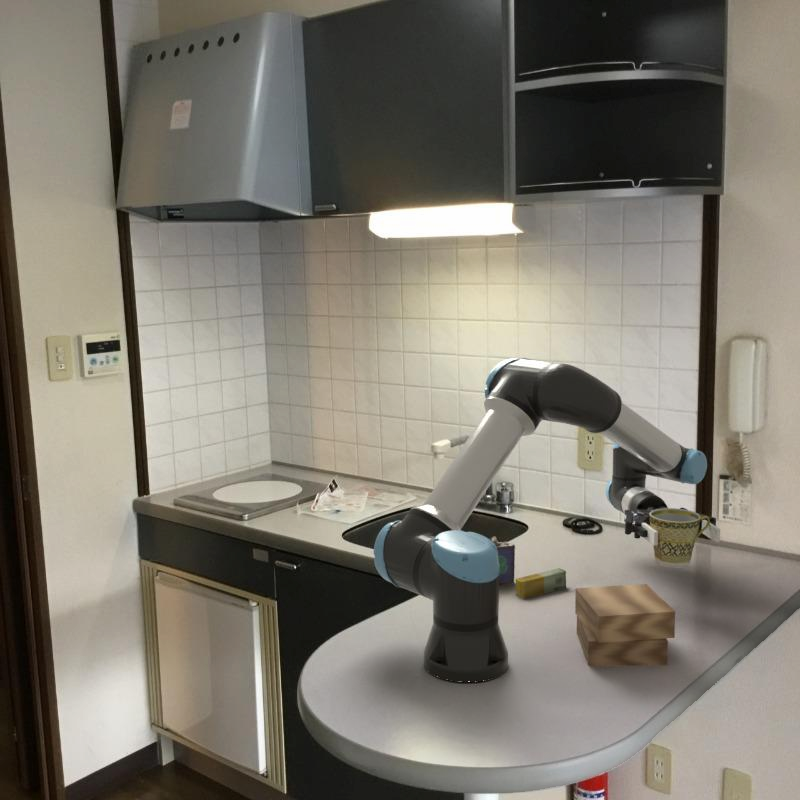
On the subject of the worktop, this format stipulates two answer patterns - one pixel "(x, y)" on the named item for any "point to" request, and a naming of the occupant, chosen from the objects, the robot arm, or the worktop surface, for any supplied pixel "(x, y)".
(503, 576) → the flask
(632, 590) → the tower top block
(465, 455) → the robot arm
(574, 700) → the worktop surface
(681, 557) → the ceramic cup
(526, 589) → the medication box
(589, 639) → the tower bottom block
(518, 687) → the worktop surface
